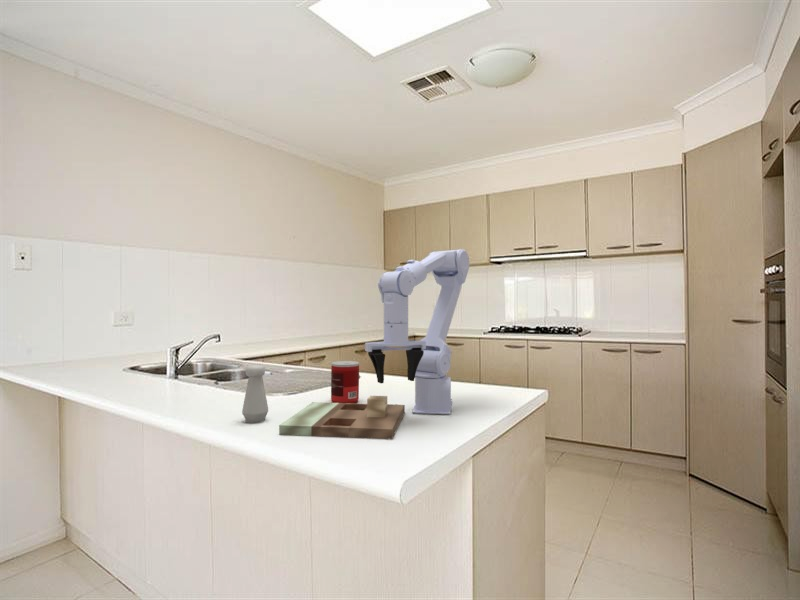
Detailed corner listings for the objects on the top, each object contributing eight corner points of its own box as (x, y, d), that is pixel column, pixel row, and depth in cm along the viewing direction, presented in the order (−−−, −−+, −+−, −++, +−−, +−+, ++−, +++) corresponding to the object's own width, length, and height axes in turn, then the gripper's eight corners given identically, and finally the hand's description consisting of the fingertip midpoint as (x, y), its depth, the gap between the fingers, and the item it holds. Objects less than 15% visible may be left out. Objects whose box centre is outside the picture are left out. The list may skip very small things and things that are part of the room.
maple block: (387, 413, 104) (387, 396, 104) (384, 417, 100) (384, 399, 100) (370, 412, 105) (370, 395, 105) (367, 416, 101) (367, 399, 101)
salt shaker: (261, 416, 109) (261, 363, 109) (272, 420, 105) (272, 365, 105) (237, 420, 105) (238, 365, 105) (249, 425, 101) (249, 368, 101)
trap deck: (404, 412, 113) (404, 404, 113) (392, 439, 91) (392, 429, 91) (312, 409, 116) (312, 402, 116) (279, 434, 94) (279, 425, 94)
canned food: (361, 399, 129) (361, 361, 129) (355, 405, 121) (355, 364, 121) (335, 398, 129) (335, 360, 129) (327, 404, 121) (328, 364, 122)
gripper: (416, 321, 110) (416, 376, 110) (360, 322, 105) (360, 380, 105) (429, 322, 104) (429, 381, 104) (370, 324, 98) (370, 386, 98)
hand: (396, 381), depth 104 cm, fingers open, 7 cm apart
